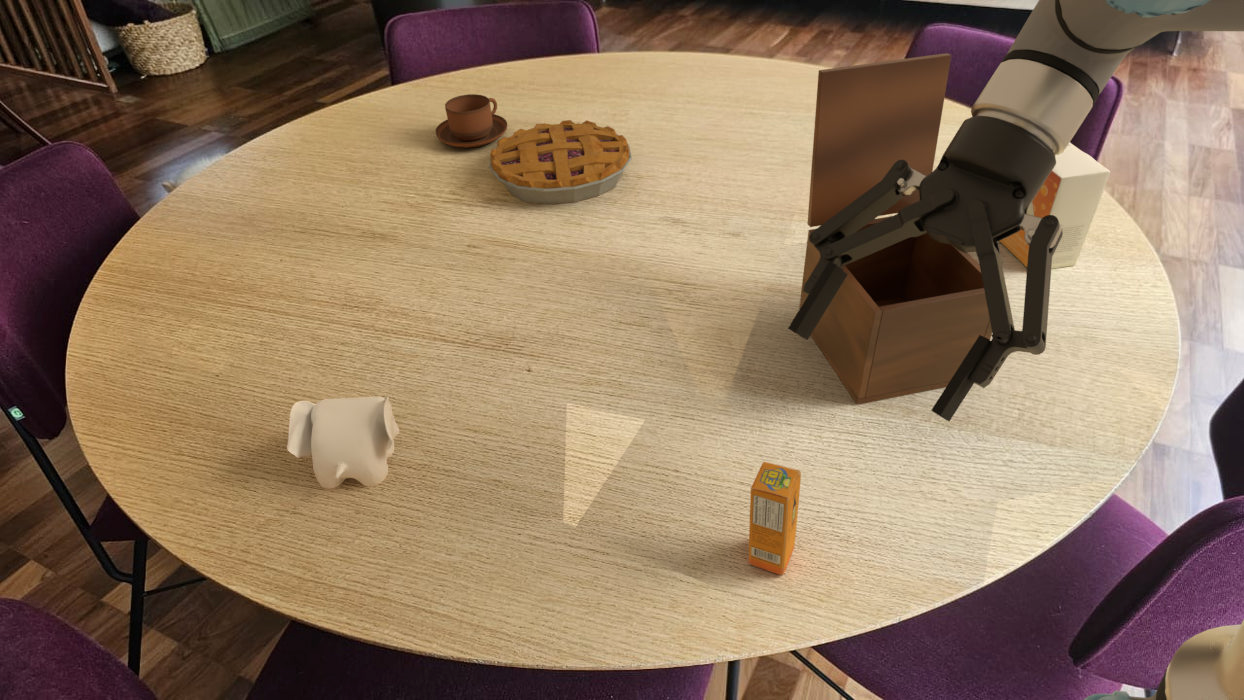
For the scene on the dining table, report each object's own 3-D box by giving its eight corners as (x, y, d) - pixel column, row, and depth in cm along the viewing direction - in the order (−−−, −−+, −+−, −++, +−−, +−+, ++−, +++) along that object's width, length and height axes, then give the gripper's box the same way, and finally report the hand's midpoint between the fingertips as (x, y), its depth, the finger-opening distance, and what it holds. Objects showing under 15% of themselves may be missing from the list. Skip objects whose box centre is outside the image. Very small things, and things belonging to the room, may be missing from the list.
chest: (977, 380, 85) (1006, 289, 77) (856, 404, 83) (874, 312, 75) (904, 297, 97) (923, 210, 89) (798, 316, 95) (808, 229, 87)
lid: (951, 54, 79) (919, 40, 84) (821, 72, 77) (796, 56, 82) (926, 208, 89) (899, 187, 94) (810, 227, 87) (788, 204, 92)
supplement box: (756, 535, 71) (764, 457, 65) (794, 548, 70) (806, 470, 63) (743, 564, 69) (750, 486, 62) (782, 578, 67) (793, 500, 61)
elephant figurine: (422, 420, 84) (404, 354, 78) (402, 511, 75) (379, 444, 69) (330, 425, 84) (305, 359, 78) (299, 516, 75) (268, 450, 69)
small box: (994, 239, 106) (1021, 146, 97) (1040, 233, 106) (1070, 140, 98) (1029, 273, 99) (1061, 177, 91) (1077, 266, 100) (1113, 170, 92)
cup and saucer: (459, 120, 143) (452, 86, 139) (520, 127, 139) (515, 92, 135) (424, 149, 134) (416, 113, 130) (488, 157, 131) (482, 121, 127)
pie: (483, 155, 132) (478, 126, 128) (613, 135, 135) (611, 106, 132) (501, 220, 115) (496, 188, 112) (649, 195, 119) (648, 164, 115)
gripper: (1187, 213, 58) (1021, 463, 60) (889, 113, 73) (765, 316, 75) (1185, 170, 52) (1001, 450, 54) (861, 71, 67) (728, 293, 69)
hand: (864, 373), depth 65 cm, fingers open, 13 cm apart
